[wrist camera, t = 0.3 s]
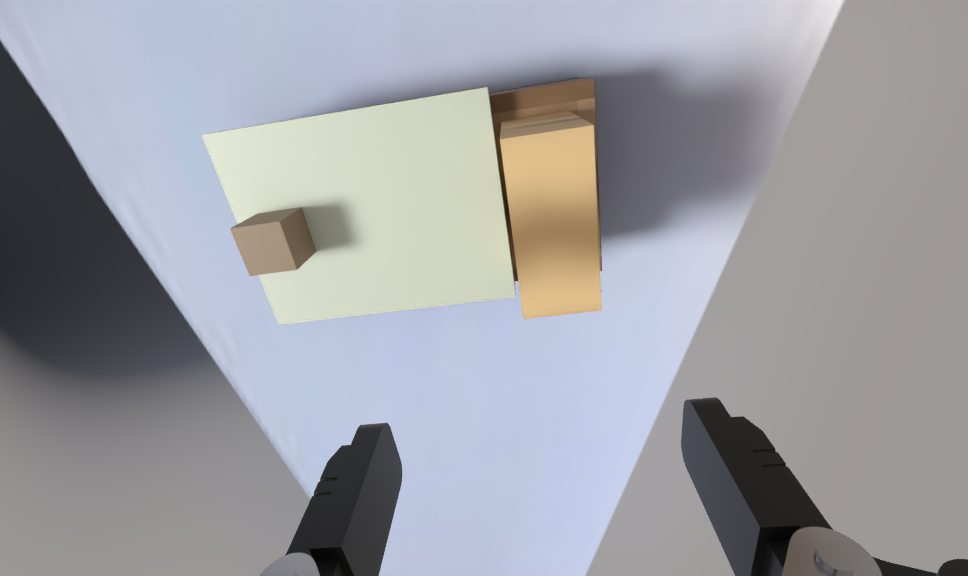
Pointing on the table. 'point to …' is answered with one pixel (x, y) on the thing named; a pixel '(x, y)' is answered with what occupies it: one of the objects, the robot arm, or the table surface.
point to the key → (553, 212)
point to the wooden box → (535, 103)
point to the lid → (370, 207)
